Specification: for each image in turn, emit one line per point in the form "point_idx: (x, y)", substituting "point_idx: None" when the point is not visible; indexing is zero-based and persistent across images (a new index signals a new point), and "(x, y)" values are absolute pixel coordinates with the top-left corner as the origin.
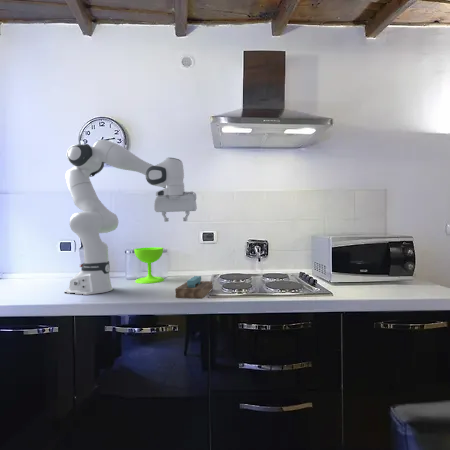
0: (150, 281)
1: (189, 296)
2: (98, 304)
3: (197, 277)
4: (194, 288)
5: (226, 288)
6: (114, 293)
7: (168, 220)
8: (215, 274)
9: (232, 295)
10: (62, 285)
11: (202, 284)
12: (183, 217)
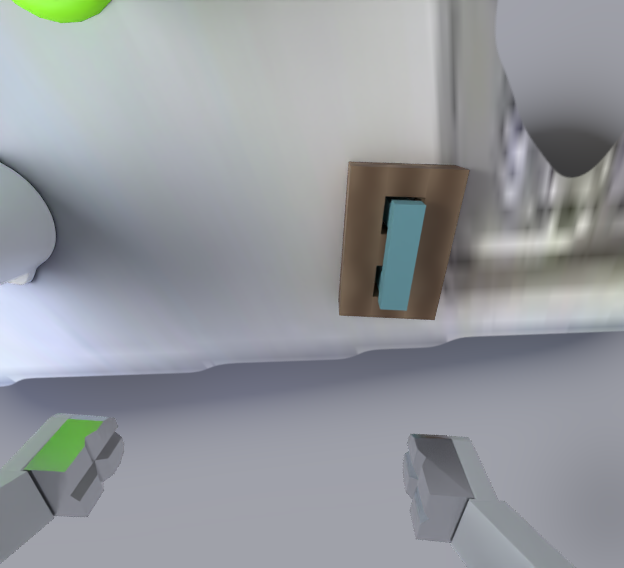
0: (88, 3)
1: None
2: (157, 371)
3: (413, 240)
4: (406, 311)
5: (520, 132)
6: (98, 252)
7: (101, 427)
8: None
9: (530, 260)
10: None
11: (428, 243)
12: (420, 538)
